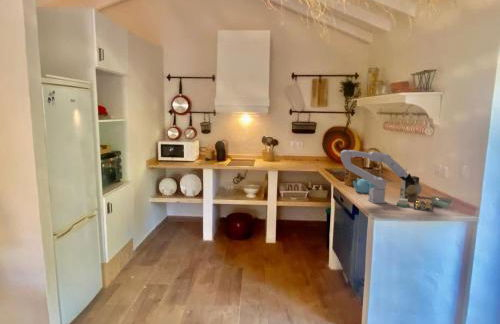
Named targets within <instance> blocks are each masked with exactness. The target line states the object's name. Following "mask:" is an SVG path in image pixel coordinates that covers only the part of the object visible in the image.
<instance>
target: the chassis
mask: <svg viewBox="0 0 500 324" xmlns="http://www.w3.org/2000/svg"><path fill="white" fill-rule="evenodd" d="M432 207H433V206H432V204H431V202H430V201H429V199H426V201H425V202H424V203H422V202H421V200H420V198H417V201H415V202H414V203H413V208H412V209H413V210H417V211H425V212H433V208H432Z"/></svg>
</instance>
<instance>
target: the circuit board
mask: <svg viewBox="0 0 500 324" xmlns="http://www.w3.org/2000/svg"><path fill="white" fill-rule="evenodd" d="M408 202H409V201H408V199H402V198H400V197H399V198H398V202H396V206H397V207H400V208H405V209H406V208H410V203H408Z"/></svg>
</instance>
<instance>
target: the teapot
mask: <svg viewBox="0 0 500 324" xmlns="http://www.w3.org/2000/svg"><path fill="white" fill-rule="evenodd" d="M353 184H354V186H353V187H354V189H355V191H356V192H357V193H359V194H365V195H366V194H368V195H369V190H370V189H372V188H374V186H375V185H374V184H372V183H371V182H369V181H368V180H366V179H364V178H362V179H360V178H357V183H356V181H353Z"/></svg>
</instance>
